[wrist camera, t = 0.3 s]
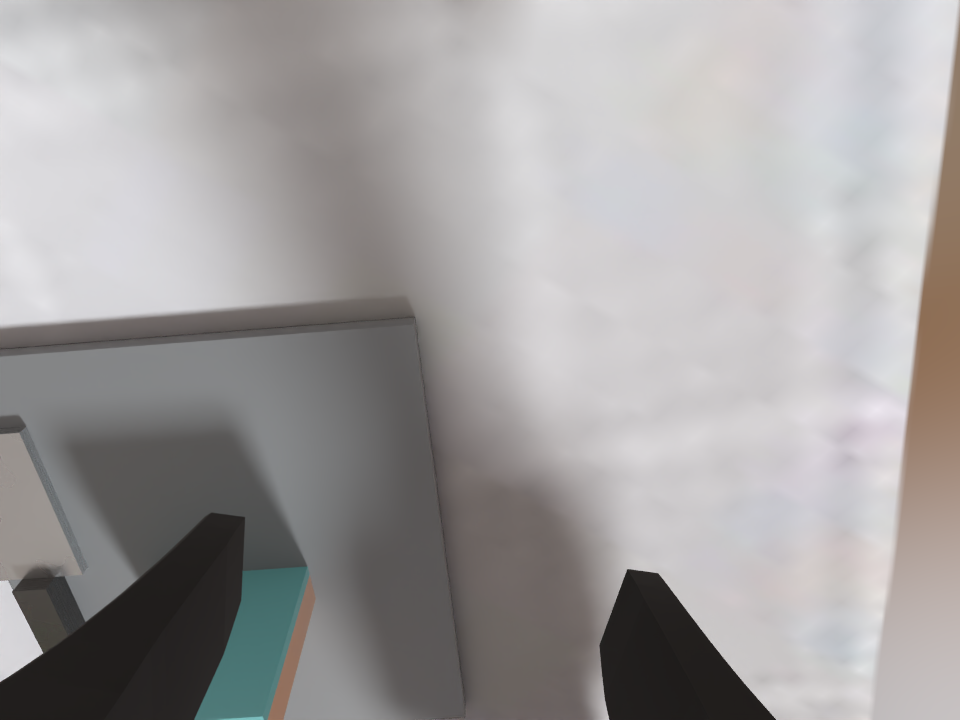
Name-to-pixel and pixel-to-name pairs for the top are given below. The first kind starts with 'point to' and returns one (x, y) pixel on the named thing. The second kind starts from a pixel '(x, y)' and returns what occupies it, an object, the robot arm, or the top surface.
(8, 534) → the bar
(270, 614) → the tile
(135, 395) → the board
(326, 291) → the top surface
